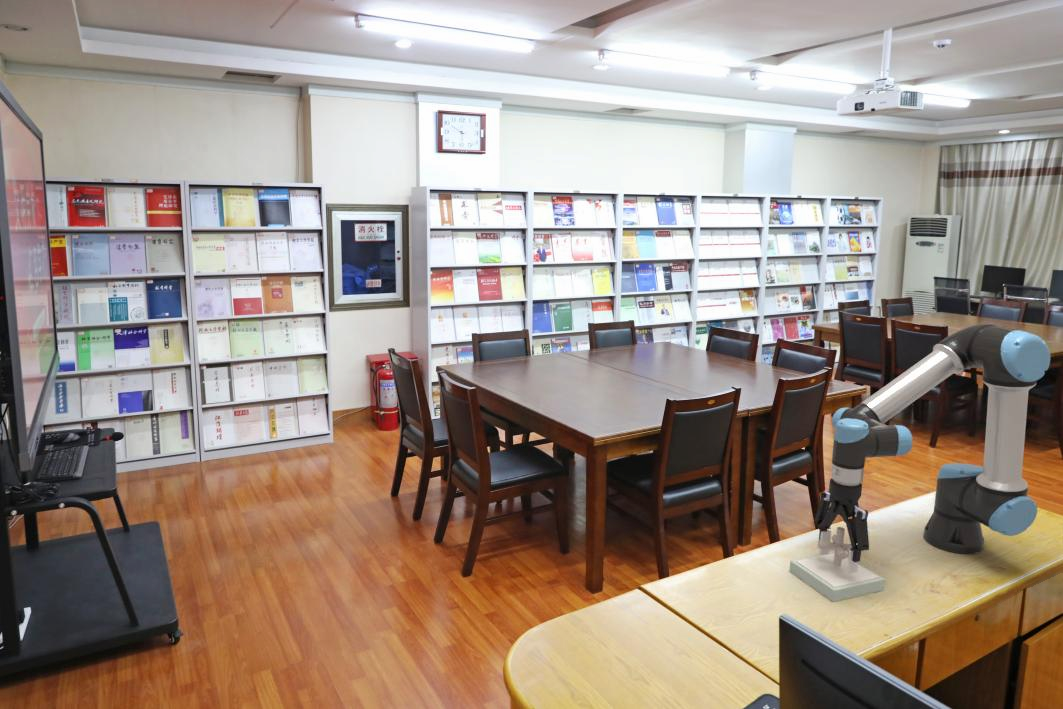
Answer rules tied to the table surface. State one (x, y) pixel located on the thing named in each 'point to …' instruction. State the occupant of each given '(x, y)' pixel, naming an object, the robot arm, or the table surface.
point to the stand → (836, 577)
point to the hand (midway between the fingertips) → (837, 562)
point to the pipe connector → (837, 546)
